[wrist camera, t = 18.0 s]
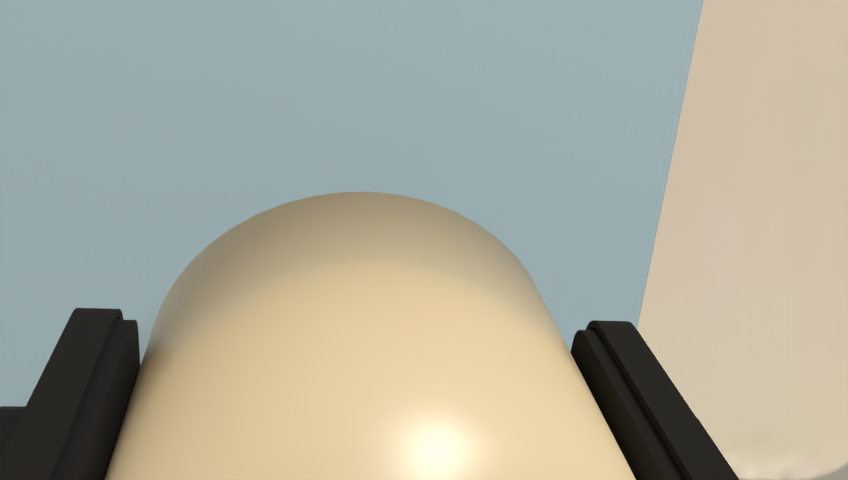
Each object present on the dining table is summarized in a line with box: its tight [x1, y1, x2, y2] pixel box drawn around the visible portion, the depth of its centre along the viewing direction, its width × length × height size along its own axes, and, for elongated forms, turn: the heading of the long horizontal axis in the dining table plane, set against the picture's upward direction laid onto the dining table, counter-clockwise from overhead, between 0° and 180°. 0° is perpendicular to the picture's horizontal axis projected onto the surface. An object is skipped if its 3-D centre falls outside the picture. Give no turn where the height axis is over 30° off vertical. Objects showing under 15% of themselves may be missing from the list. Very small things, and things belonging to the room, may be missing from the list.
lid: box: [0, 0, 703, 407], centre depth 17 cm, size 14×10×1 cm
